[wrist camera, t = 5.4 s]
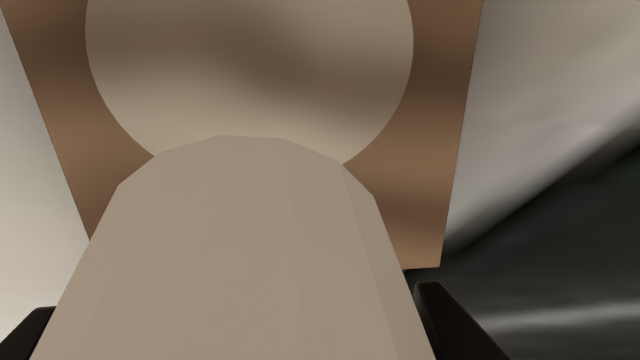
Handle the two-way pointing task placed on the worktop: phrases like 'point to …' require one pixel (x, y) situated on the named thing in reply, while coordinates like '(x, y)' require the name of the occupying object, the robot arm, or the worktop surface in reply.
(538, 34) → the worktop surface
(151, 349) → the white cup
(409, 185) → the serving board
